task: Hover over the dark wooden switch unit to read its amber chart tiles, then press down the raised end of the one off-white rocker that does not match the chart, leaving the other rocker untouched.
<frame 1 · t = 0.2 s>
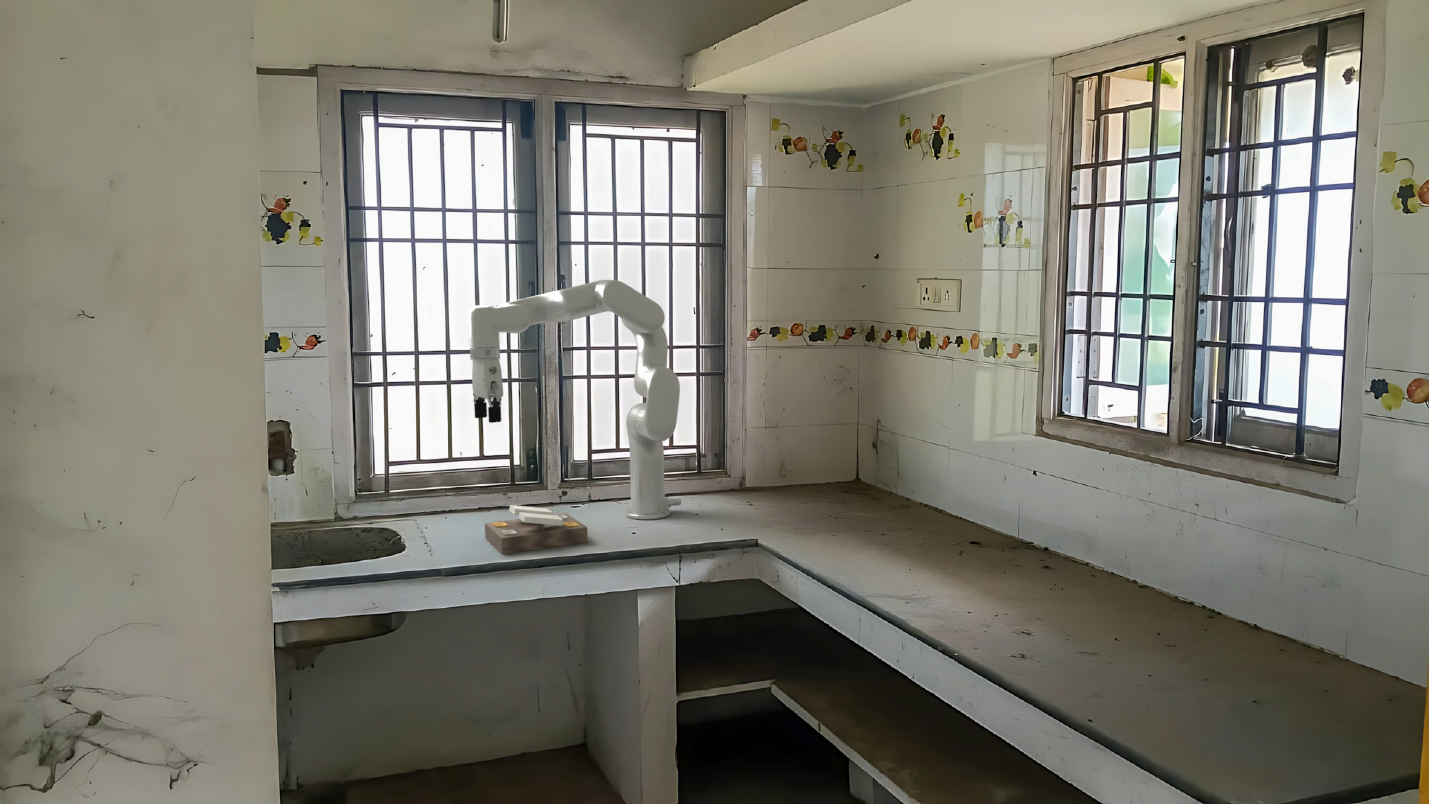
hand: (487, 419, 269), 30 cm above the counter, fingers open, 9 cm apart
switch unit: (535, 540, 266), on the counter
rocker near: (540, 518, 262), point 7 cm above the counter, hinge at -12.0°
rocker far: (530, 511, 270), point 7 cm above the counter, hinge at -12.0°
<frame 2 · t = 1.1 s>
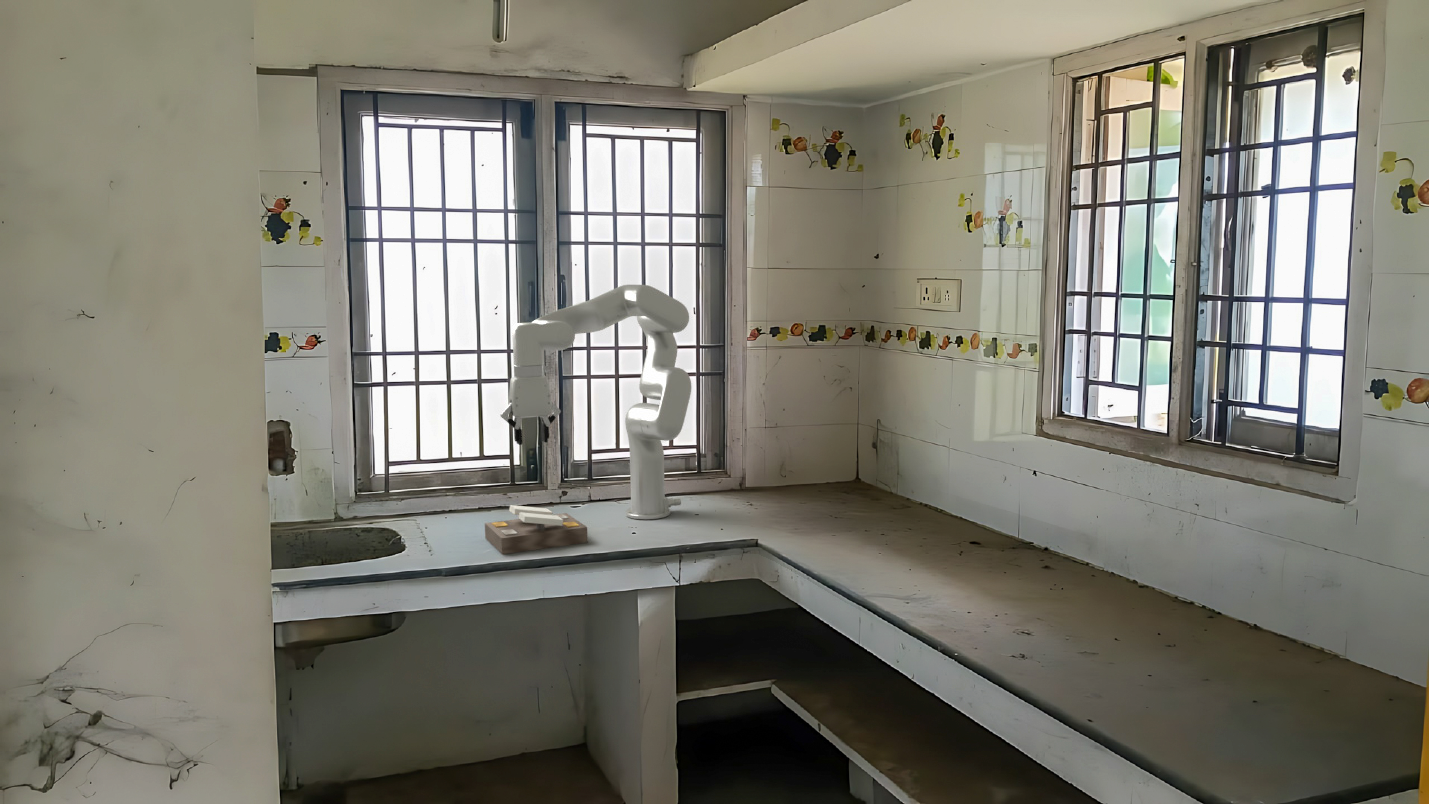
hand: (532, 442, 263), 26 cm above the counter, fingers open, 5 cm apart
nothing on the counter moved.
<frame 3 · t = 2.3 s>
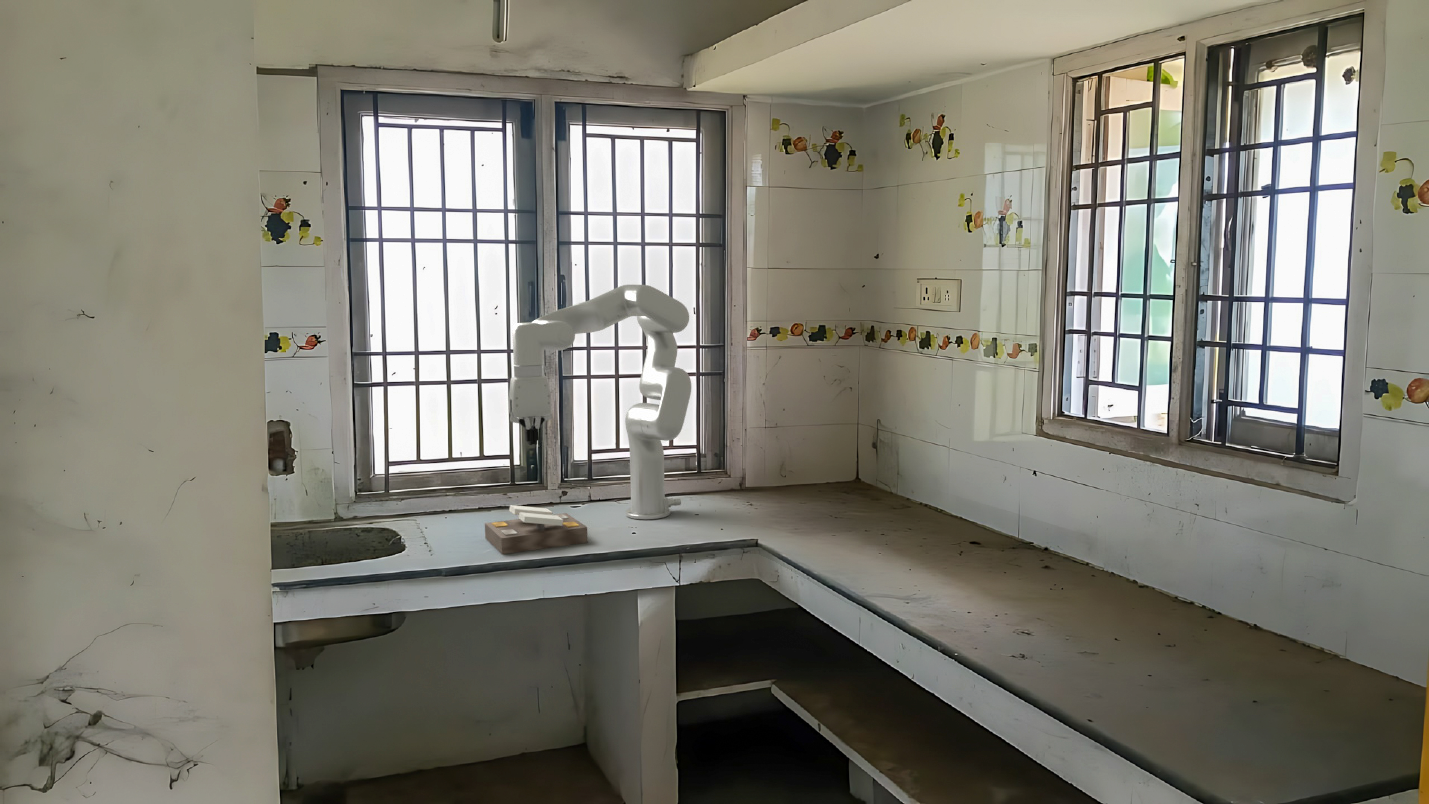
hand: (532, 443, 263), 25 cm above the counter, fingers closed
nothing on the counter moved.
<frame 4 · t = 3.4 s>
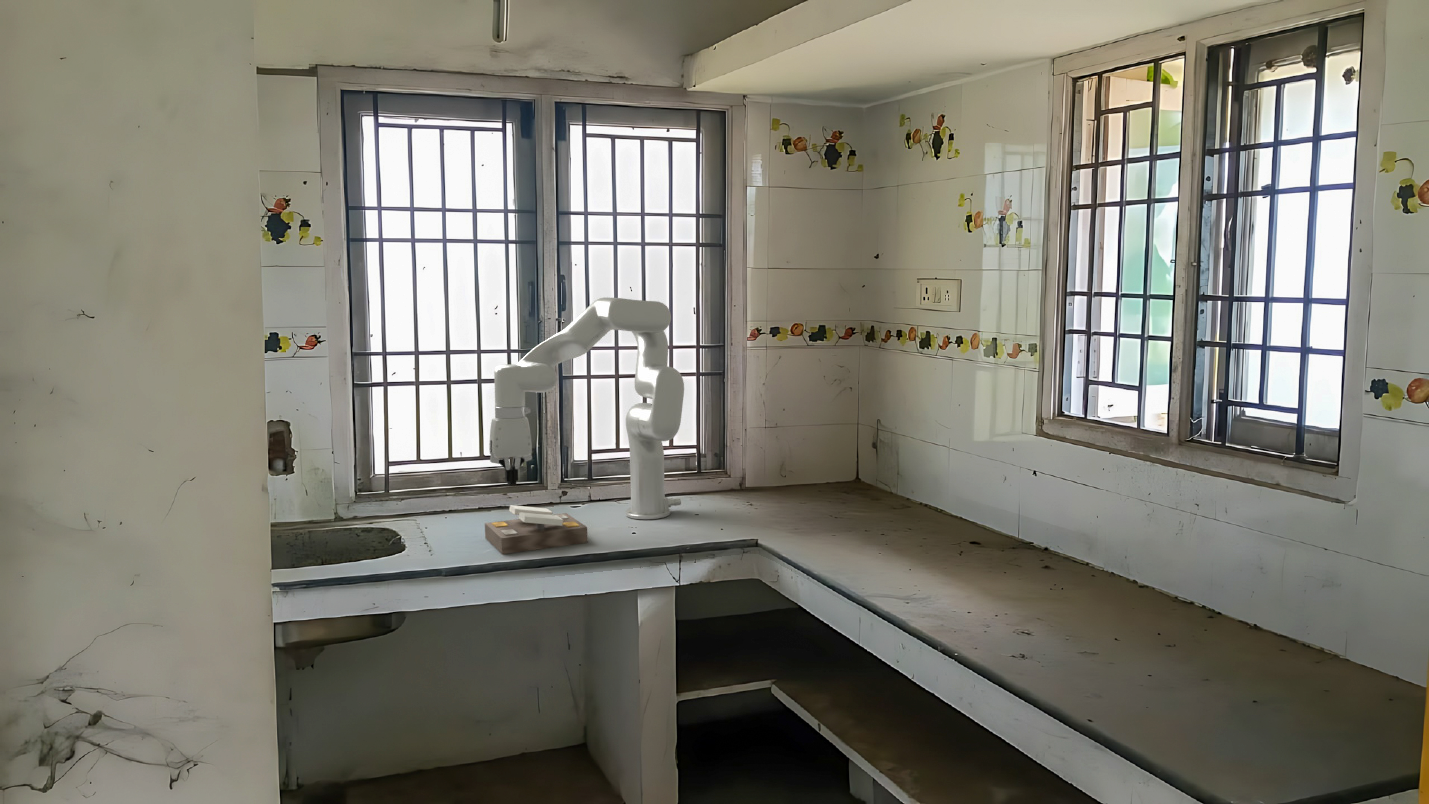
hand: (511, 484, 266), 14 cm above the counter, fingers closed
nothing on the counter moved.
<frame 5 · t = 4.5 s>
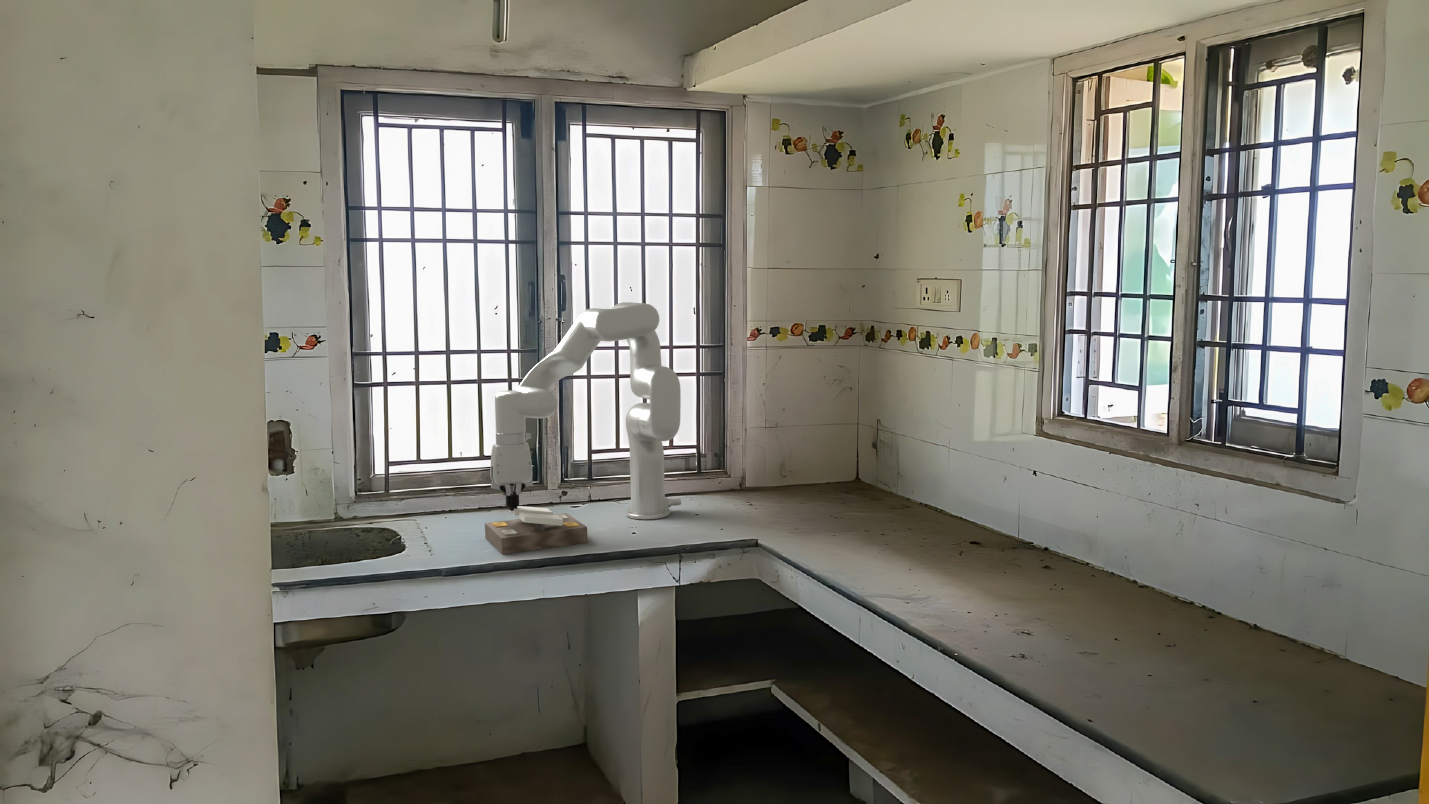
hand: (512, 509, 267), 8 cm above the counter, fingers closed
rocker far: (530, 511, 270), point 7 cm above the counter, hinge at -10.9°, touching gripper
everything else where it was.
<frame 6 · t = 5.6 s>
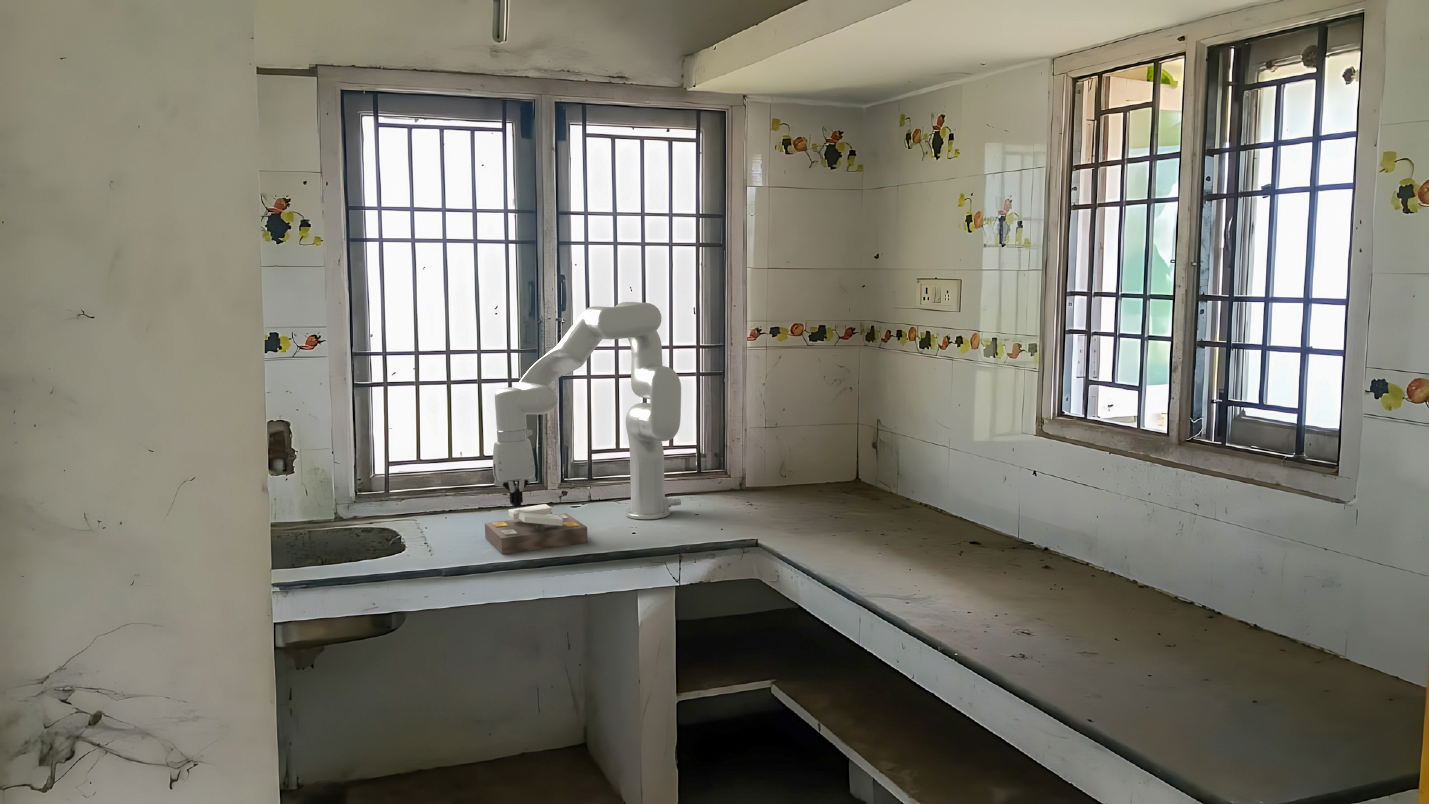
hand: (516, 505, 268), 8 cm above the counter, fingers closed
rocker far: (529, 511, 270), point 7 cm above the counter, hinge at 2.2°
everything else where it was.
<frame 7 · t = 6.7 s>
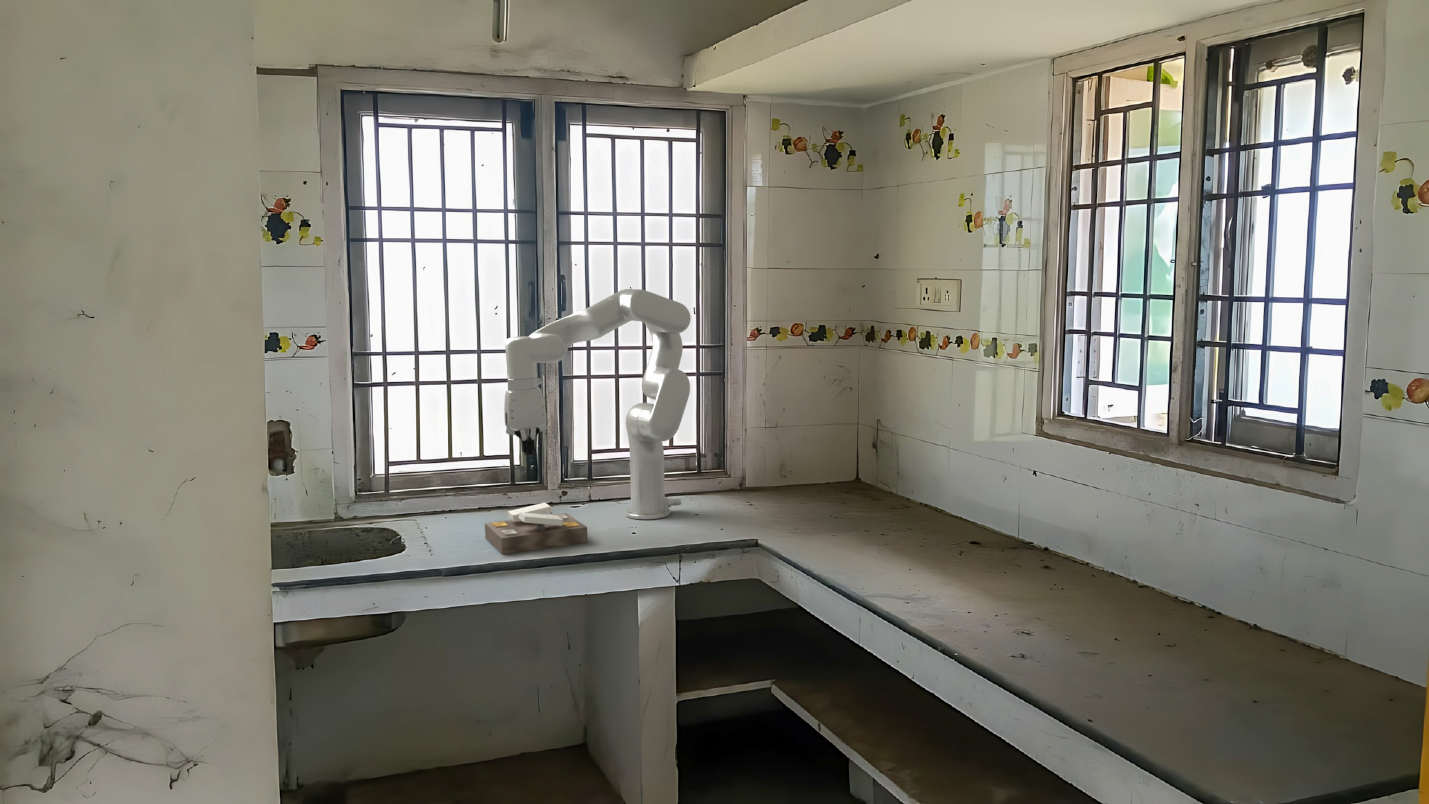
hand: (528, 454, 270), 21 cm above the counter, fingers closed
rocker far: (529, 511, 270), point 7 cm above the counter, hinge at 6.8°
everything else where it was.
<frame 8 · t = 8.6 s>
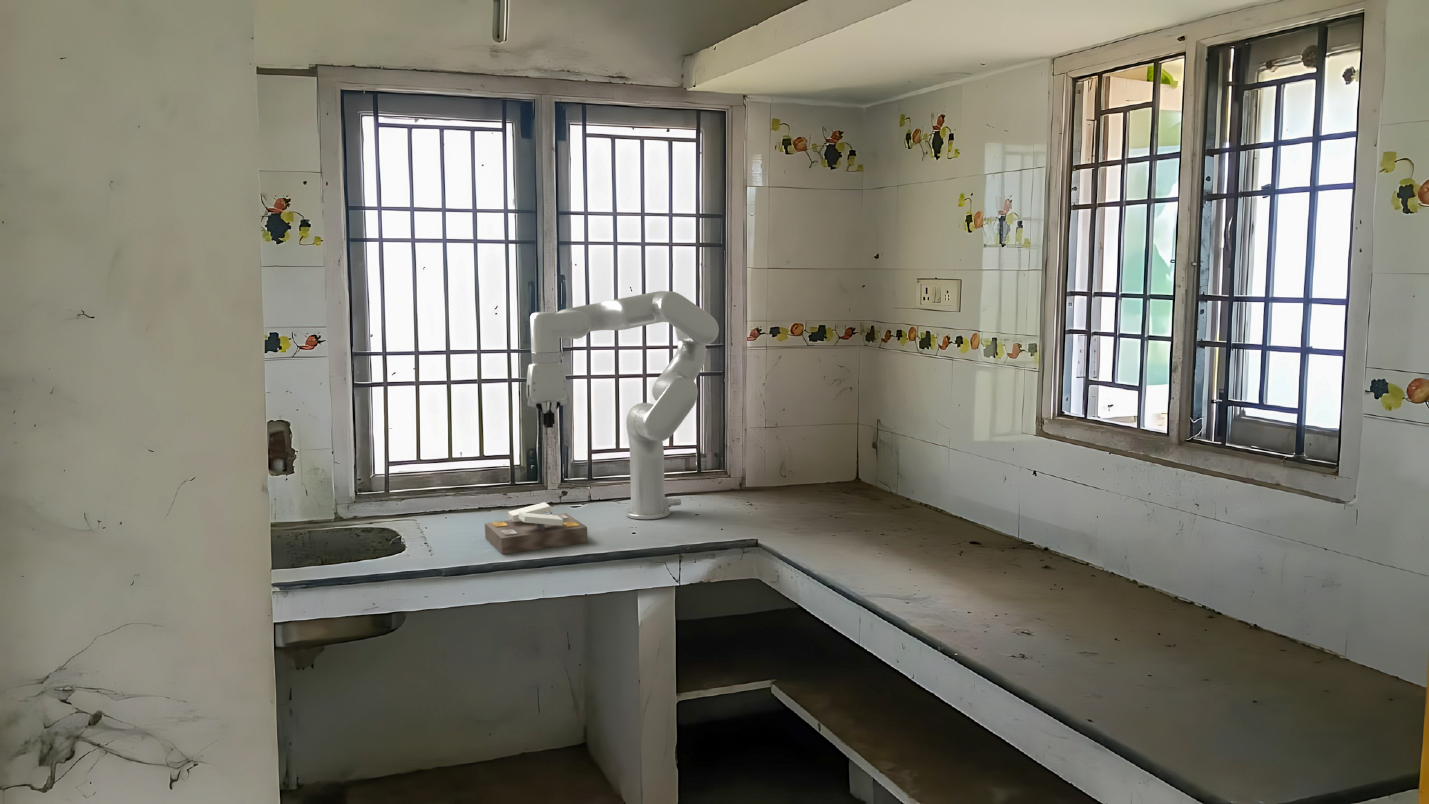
hand: (548, 427, 277), 27 cm above the counter, fingers closed
rocker far: (529, 511, 269), point 7 cm above the counter, hinge at 8.0°
everything else where it was.
at the end: rocker far at +8° (first picture: -12°); rocker near at -12° (first picture: -12°) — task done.
